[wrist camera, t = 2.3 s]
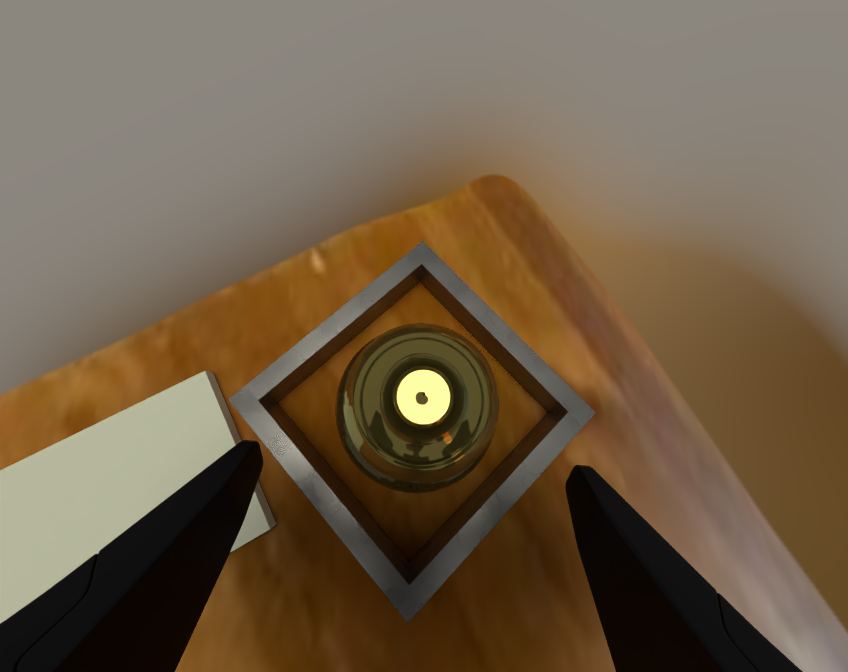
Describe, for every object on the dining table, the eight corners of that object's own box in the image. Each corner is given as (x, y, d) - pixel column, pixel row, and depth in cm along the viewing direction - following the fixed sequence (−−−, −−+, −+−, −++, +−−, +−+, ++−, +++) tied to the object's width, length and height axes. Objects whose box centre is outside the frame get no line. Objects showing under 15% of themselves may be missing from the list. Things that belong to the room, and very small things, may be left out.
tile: (213, 372, 19) (204, 370, 18) (276, 524, 17) (270, 529, 16) (-37, 495, 17) (-58, 498, 16) (7, 681, 15) (-14, 695, 14)
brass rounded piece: (354, 485, 18) (292, 564, 8) (346, 351, 20) (287, 285, 10) (488, 468, 18) (577, 522, 9) (468, 338, 20) (525, 265, 11)
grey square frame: (572, 413, 19) (595, 412, 17) (407, 593, 17) (407, 622, 14) (420, 261, 21) (422, 241, 19) (251, 401, 19) (228, 399, 16)
